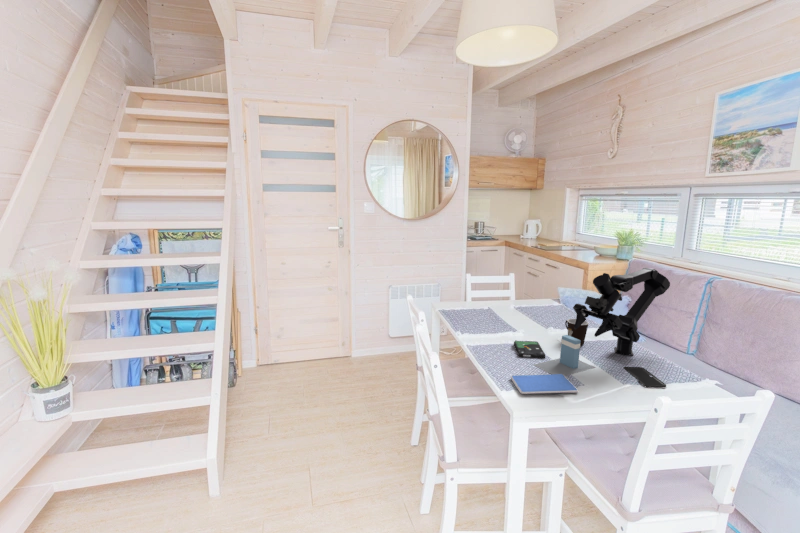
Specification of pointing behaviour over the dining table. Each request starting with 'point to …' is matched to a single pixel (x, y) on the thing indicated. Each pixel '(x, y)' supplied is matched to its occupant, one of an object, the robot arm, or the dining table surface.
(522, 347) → the disk drive
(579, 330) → the coffee mug
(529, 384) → the tablet computer
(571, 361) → the box
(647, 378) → the phone
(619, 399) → the dining table surface
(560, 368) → the mat
